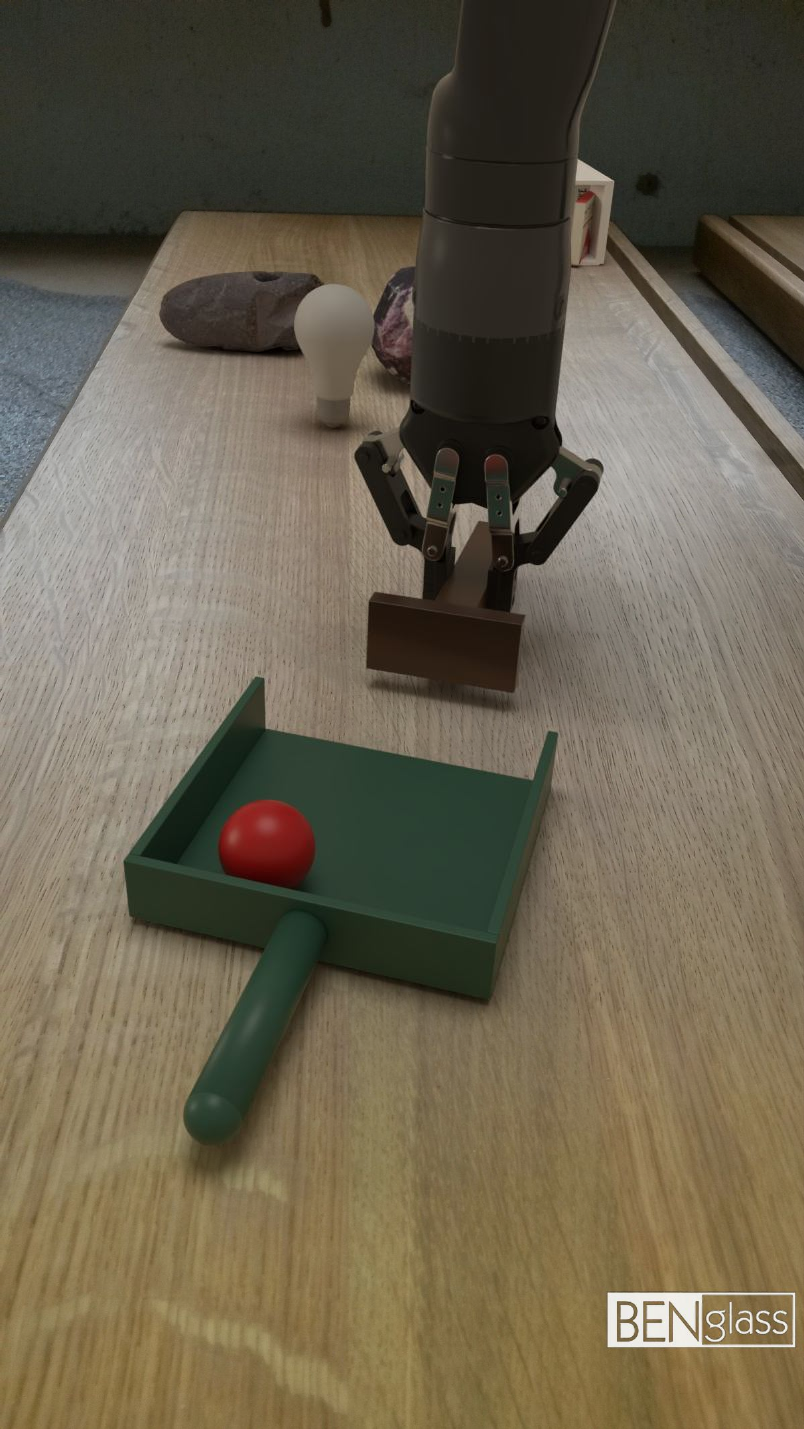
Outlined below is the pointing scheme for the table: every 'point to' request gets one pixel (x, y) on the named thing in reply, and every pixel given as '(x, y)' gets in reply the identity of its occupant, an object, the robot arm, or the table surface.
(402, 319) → the mineral specimen
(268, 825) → the red billiard ball
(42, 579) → the table surface
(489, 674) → the wooden t-shaped pusher
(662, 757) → the table surface
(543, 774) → the dustpan
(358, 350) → the lightbulb
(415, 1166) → the table surface
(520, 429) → the robot arm
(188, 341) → the perforated stone tool
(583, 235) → the cigarette display
